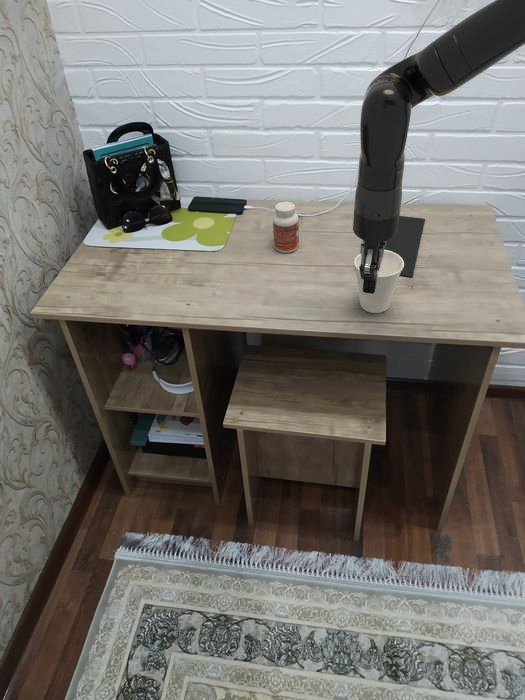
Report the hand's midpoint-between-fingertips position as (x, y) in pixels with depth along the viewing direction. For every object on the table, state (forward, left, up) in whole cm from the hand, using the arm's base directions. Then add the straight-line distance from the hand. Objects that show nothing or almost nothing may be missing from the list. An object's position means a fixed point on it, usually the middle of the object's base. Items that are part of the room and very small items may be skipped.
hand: (369, 290), depth 106 cm
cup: (+10, -5, -12) cm, 17 cm away
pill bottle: (+37, +9, -12) cm, 40 cm away
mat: (+32, -17, -12) cm, 38 cm away
